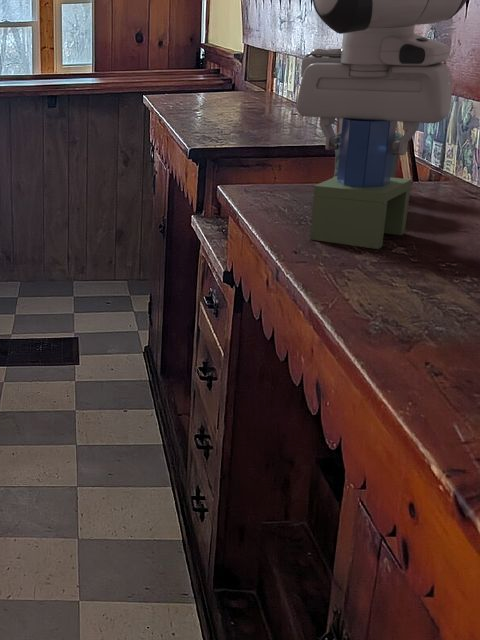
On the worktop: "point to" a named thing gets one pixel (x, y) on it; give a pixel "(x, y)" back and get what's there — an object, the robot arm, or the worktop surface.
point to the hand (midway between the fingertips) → (364, 151)
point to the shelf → (359, 212)
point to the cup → (366, 152)
